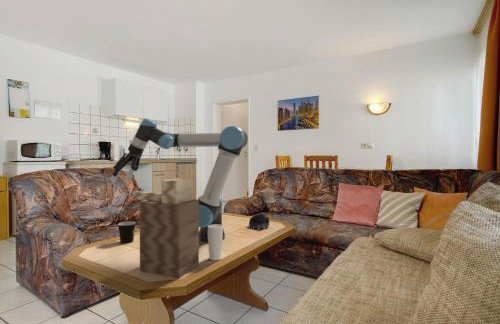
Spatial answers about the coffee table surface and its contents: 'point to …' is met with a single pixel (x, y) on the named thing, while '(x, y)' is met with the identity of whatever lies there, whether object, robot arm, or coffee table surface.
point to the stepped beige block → (169, 192)
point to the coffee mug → (126, 232)
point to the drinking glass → (215, 241)
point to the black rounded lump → (259, 221)
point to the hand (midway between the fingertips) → (119, 180)
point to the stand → (169, 237)
